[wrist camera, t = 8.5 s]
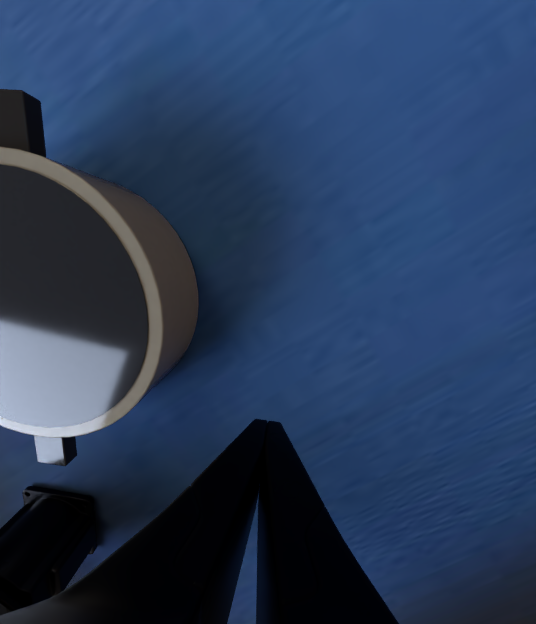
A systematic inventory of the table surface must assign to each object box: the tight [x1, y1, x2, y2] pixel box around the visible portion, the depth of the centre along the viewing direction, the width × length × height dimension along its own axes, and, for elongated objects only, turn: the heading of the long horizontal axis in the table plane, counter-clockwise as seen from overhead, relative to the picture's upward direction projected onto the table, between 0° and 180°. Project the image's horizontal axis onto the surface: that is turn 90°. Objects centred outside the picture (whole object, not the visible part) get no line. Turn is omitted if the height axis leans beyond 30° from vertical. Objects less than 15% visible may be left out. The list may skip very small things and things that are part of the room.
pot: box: [0, 89, 199, 466], centre depth 17 cm, size 16×21×6 cm
